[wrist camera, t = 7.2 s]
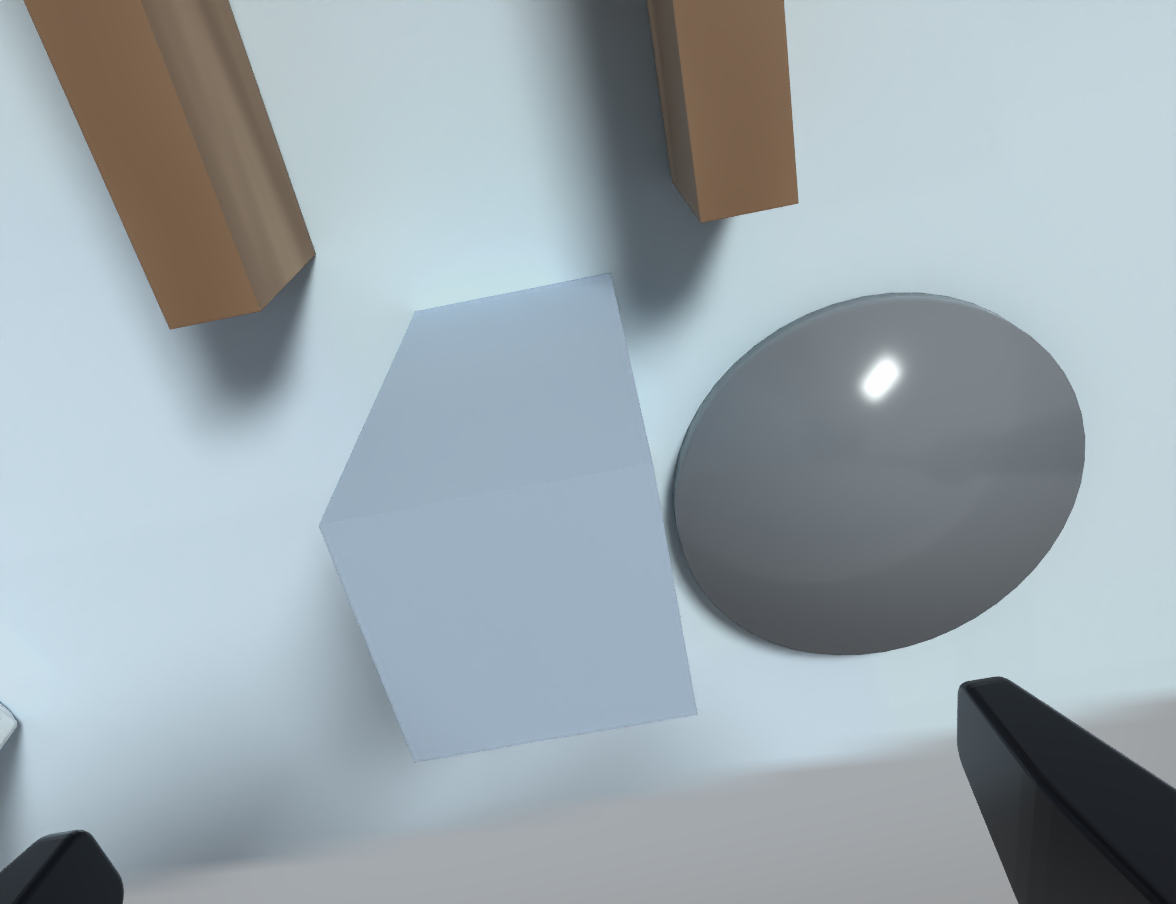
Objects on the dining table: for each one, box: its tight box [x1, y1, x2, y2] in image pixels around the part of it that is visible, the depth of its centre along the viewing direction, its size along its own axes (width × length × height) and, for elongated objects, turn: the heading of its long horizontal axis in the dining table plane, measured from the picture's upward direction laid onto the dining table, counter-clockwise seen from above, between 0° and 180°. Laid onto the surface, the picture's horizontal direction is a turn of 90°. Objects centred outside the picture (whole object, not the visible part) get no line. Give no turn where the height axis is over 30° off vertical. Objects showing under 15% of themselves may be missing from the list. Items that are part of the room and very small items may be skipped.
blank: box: [319, 273, 697, 762], centre depth 14 cm, size 4×4×8 cm
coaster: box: [673, 293, 1085, 655], centre depth 19 cm, size 9×9×1 cm
